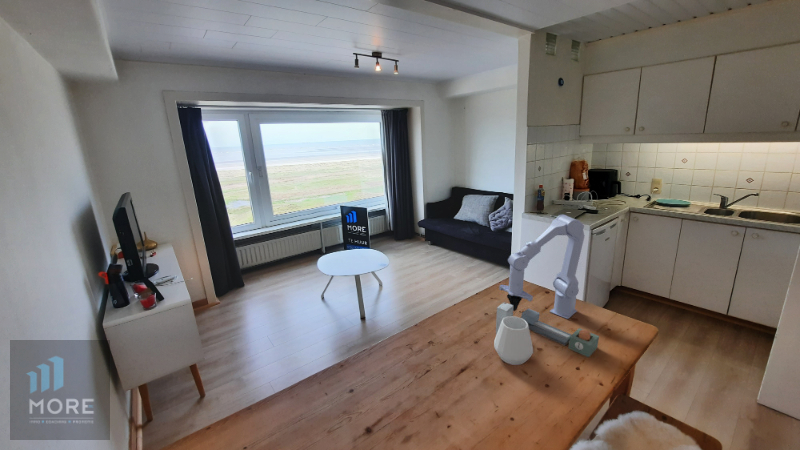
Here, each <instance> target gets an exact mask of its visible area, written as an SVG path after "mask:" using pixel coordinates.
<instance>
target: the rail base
mask: <svg viewBox="0 0 800 450" xmlns="http://www.w3.org/2000/svg"><path fill="white" fill-rule="evenodd" d="M520 318H522V315H521V316H520ZM528 327H529V331H530V332H531V331H532V332H534V333H536V334H539V335H541V336H543V337H544V338H546V339H549V340H551V341H553V342H556V343H557V344H560V345H563V346H564V347H565V346H566V345H567V344H569V340H570V336H571V335H572V334H571V333H569V332H566V331H564V330H561V329H560V328H557V327H555V326H552V325H550V324H547V323H545V322H542V321H540V320H538V322H537V321H536V322H535V323H534V325H531V324H529V323H528Z"/></svg>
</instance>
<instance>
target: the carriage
mask: <svg viewBox="0 0 800 450" xmlns="http://www.w3.org/2000/svg"><path fill="white" fill-rule="evenodd" d="M521 316H522V319H524V320H525V321H526V322H527V323H529V324H531V325H534V323H535V322H536V321H537V322H538V321H540V320H539V319H540V312H538V311H536V310H534V309H531V308H527V309H526V310H524V311H522V312H521Z"/></svg>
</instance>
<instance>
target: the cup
mask: <svg viewBox="0 0 800 450" xmlns="http://www.w3.org/2000/svg"><path fill="white" fill-rule="evenodd" d="M493 344H494V345H493V347H494V349H495V351H496V353H497V355H498V356H499V358H500V359H501V360H502V361H503V362H505V363H506V364H508V365H513V366H517V365H518V366H520V365H522V364H524V363H526V362H527V361H528V360H529V359H530V358H531V356H532V355H533V353H534V348H533V347H534V346H533V342H532V337H531V331H530V330H529V327H528V323H527V322H526V321H525V320H524V319H522V318H521V317H519V316H514V315H513V316H508V317H505V318H503V320H502V322H501V324H500V327H499V330H498V332H497V334H495V338H494V341H493Z"/></svg>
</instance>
